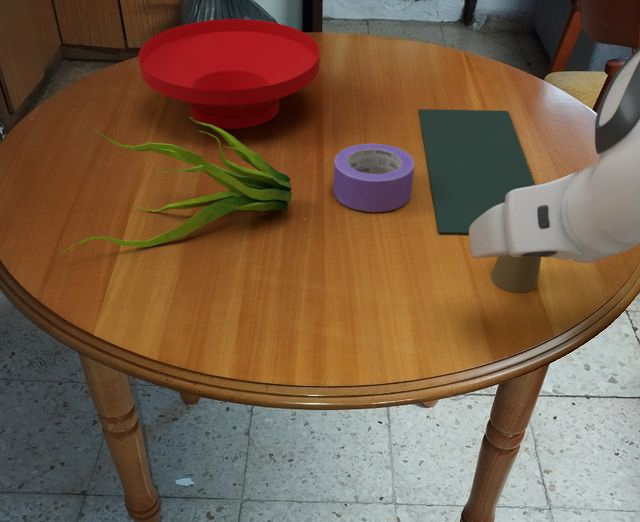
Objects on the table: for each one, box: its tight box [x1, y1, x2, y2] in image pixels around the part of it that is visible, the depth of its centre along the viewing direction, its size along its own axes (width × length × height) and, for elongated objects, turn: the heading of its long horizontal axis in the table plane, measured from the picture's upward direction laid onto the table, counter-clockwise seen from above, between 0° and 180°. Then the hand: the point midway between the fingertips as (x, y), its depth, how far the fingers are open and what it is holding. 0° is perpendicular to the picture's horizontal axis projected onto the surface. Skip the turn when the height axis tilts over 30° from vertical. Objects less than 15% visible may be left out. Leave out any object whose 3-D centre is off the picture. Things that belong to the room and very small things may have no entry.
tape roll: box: [333, 143, 415, 213], centre depth 100 cm, size 12×12×5 cm
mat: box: [418, 108, 536, 236], centre depth 108 cm, size 40×16×1 cm, turn 178°
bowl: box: [137, 18, 321, 130], centre depth 117 cm, size 30×30×10 cm
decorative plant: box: [58, 115, 293, 256], centre depth 89 cm, size 18×30×15 cm, turn 89°
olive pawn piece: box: [490, 255, 542, 293], centre depth 84 cm, size 6×6×11 cm
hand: (535, 245), depth 81 cm, fingers closed
